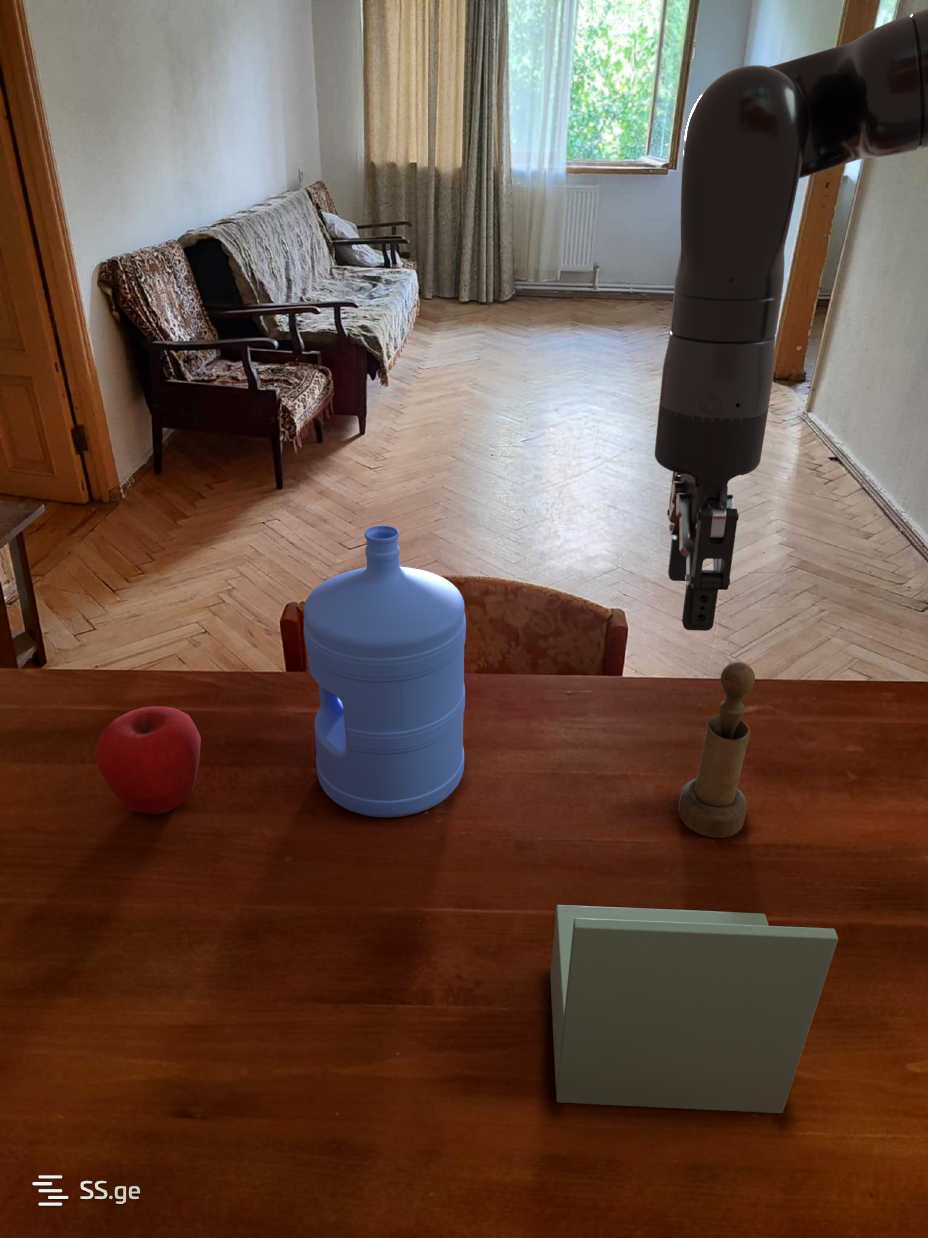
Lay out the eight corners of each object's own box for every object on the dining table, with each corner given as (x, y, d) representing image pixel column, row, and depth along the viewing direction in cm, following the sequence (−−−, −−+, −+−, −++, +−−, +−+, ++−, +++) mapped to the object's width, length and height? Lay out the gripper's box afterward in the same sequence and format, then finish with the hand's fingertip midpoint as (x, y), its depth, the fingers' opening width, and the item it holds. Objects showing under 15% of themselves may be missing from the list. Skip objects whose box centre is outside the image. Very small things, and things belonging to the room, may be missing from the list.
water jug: (475, 736, 100) (479, 506, 86) (448, 832, 87) (449, 578, 73) (342, 721, 102) (326, 494, 89) (297, 811, 89) (269, 561, 75)
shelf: (747, 984, 72) (789, 816, 63) (782, 1114, 62) (838, 939, 54) (550, 975, 72) (564, 808, 63) (556, 1103, 63) (574, 927, 54)
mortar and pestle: (740, 846, 86) (775, 692, 77) (673, 829, 87) (699, 677, 79) (746, 802, 91) (779, 654, 82) (682, 787, 93) (708, 641, 84)
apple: (192, 760, 96) (177, 676, 91) (223, 810, 89) (209, 723, 84) (98, 792, 91) (76, 706, 86) (123, 848, 84) (101, 759, 79)
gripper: (792, 428, 56) (755, 649, 64) (747, 376, 68) (720, 565, 76) (673, 427, 57) (650, 646, 64) (649, 375, 69) (633, 563, 77)
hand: (688, 602), depth 70 cm, fingers open, 8 cm apart
